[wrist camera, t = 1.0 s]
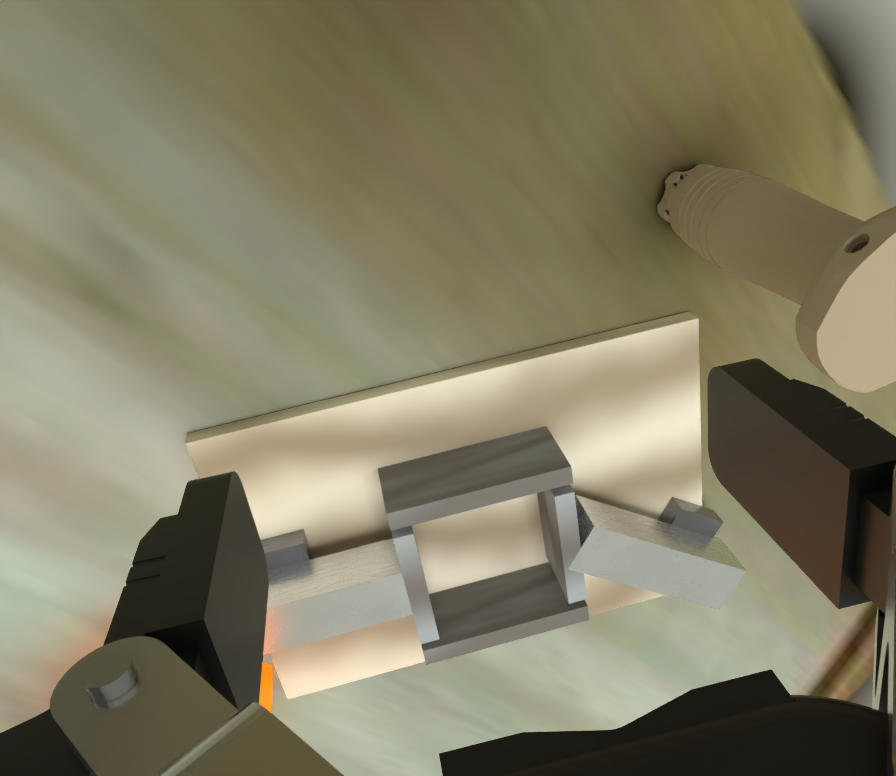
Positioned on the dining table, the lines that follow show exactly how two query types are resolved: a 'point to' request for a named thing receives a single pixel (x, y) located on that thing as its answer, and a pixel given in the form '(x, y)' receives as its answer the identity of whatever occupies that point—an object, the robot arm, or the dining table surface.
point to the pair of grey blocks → (603, 555)
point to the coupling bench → (474, 487)
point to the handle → (799, 263)
